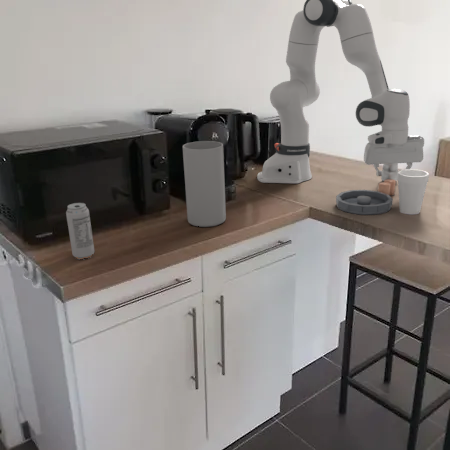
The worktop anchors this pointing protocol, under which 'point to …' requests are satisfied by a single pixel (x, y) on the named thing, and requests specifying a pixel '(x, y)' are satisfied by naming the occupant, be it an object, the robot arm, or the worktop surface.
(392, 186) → the peach egg shape
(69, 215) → the energy drink can
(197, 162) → the cylinder vase
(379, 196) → the tray
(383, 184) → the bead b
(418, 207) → the foam cup
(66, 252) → the worktop surface
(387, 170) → the plastic bottle
